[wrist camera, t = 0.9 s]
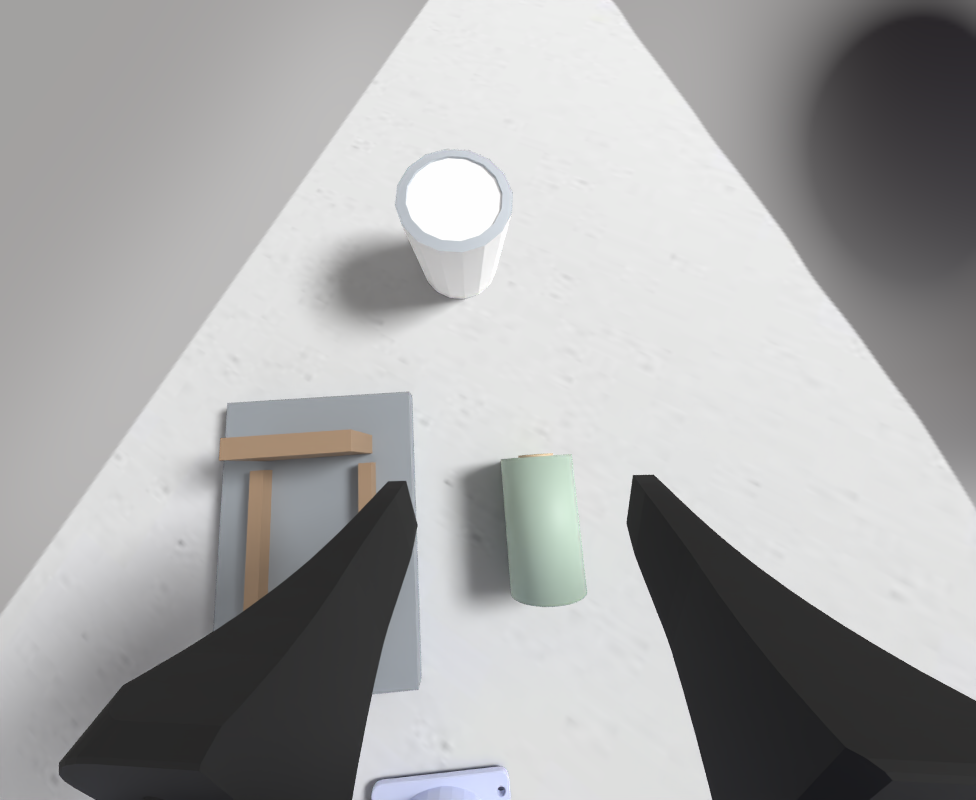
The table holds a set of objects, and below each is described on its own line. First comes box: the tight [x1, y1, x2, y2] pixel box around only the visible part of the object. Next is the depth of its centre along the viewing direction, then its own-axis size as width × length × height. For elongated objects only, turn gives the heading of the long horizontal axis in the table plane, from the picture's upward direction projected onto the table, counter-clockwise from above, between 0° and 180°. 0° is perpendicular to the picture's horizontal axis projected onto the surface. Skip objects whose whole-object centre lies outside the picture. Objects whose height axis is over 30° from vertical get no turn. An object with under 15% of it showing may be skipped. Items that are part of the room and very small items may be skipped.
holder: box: [213, 392, 421, 694], centre depth 21 cm, size 18×12×5 cm, turn 4°
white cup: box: [395, 149, 513, 299], centre depth 24 cm, size 7×7×7 cm
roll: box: [501, 453, 587, 607], centre depth 22 cm, size 8×4×4 cm, turn 4°
